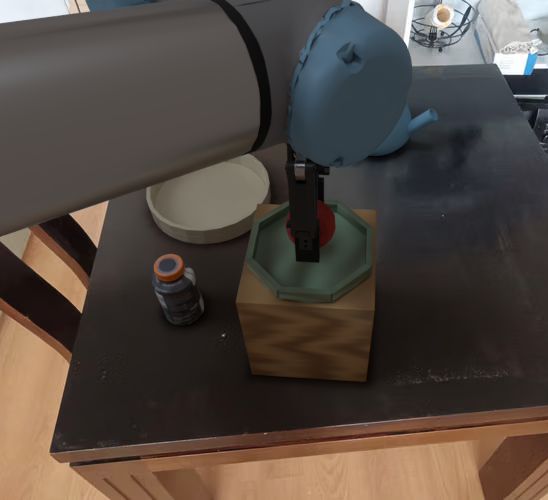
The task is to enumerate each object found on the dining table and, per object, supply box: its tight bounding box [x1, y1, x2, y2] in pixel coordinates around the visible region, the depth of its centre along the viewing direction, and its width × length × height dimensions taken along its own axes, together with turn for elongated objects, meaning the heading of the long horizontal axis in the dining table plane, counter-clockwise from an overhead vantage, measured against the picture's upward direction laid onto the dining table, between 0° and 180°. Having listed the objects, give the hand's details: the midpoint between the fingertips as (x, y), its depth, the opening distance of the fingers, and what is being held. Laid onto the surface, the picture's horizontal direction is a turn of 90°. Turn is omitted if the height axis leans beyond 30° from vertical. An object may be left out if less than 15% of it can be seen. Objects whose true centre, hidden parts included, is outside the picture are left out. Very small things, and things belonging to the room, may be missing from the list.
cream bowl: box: [145, 153, 272, 245], centre depth 96 cm, size 21×21×4 cm
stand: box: [235, 199, 378, 383], centre depth 73 cm, size 16×16×20 cm
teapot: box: [369, 102, 439, 157], centre depth 104 cm, size 20×20×13 cm
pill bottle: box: [151, 253, 205, 326], centre depth 78 cm, size 6×6×11 cm
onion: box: [286, 200, 336, 248], centre depth 62 cm, size 6×6×8 cm
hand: (310, 238), depth 64 cm, fingers closed on onion, 6 cm apart
